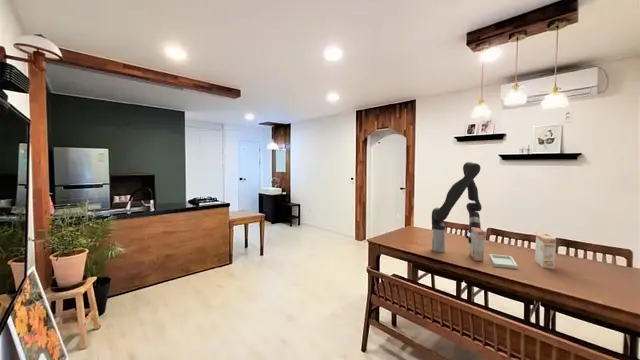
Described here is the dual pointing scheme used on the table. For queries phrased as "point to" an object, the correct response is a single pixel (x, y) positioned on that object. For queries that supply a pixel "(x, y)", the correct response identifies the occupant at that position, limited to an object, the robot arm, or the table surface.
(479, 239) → the cracker box
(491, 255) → the sage tray
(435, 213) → the robot arm
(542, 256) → the coffeecake box
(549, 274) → the table surface
